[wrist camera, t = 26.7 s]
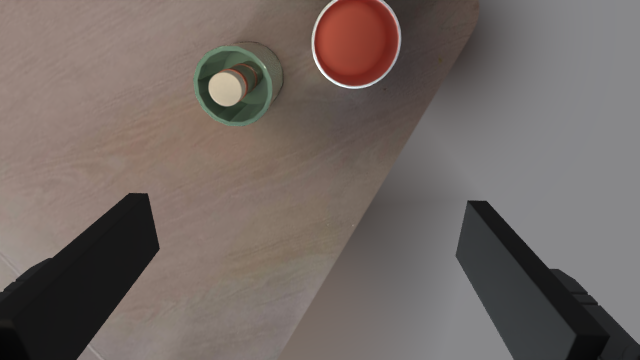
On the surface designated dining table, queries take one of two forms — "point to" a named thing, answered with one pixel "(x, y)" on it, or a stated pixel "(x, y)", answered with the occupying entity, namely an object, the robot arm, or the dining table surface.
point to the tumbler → (253, 101)
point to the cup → (356, 41)
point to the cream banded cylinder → (234, 83)
